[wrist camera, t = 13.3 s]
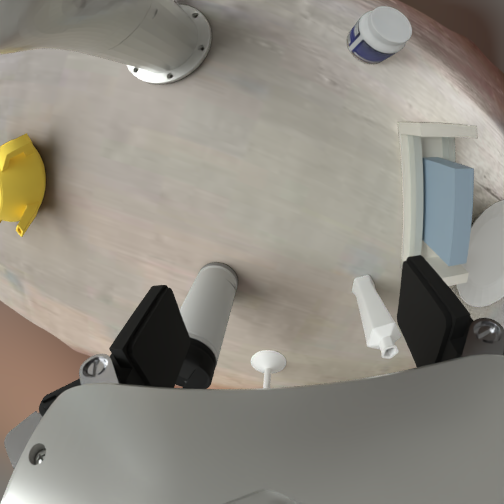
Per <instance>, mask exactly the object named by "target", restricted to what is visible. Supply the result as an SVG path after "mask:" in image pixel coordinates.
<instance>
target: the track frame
mask: <svg viewBox="0 0 504 504" xmlns="http://www.w3.org/2000/svg"><path fill="white" fill-rule="evenodd" d="M397 124H398V133H399V143H400V154H401V169H402V193H403V232H402V256H401V269H402V266H403V262H404V261H406V260H407V258H408V257H410V256H417V255H421V256H423V257H424V259H425V260H426V261H427V262H428V263H429V264H430V265H431V267H432V268H433V269H434V270H435V271H436V272H437V273H438V275H439V276H440V277H441V278H442V279H443V281H444V282H445V283H446V284H447V285H448V286H452V285H457V284H461V283H466V282H467V280H468V275H469V272H468V271H467V270H466V269H465V268H464V267H463V266H462V265H461V264H459V265H454V266H448V265H447V264H446V263H445V262H444V261H443V260H442V259H441V258H440V257H439V256H438V255H437V254H436V253H435V252H434V251H433V250H432V249H431V248H430V247H429V246H428V245H427V244H426V243H425V242H424V241H423V240H422V232H423V161H422V158H424V157H439V158H442V159H446V160H449V161H452V162H455V163H456V152H455V137H460V138H478V136H477V126H472V125H463V124H452V123H432V122H397Z"/></svg>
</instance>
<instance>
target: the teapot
mask: <svg viewBox="0 0 504 504" xmlns="http://www.w3.org/2000/svg"><path fill="white" fill-rule="evenodd" d="M45 187H46V173H45V167H44V163H43V161H42V158H41V156H40V154H39V153H38V151H37V150H36V148H35V147H34V146H33V144H32V141H31V140H30V138H29V136H28V135H27V133H26V134H24V135H22V136H20V137H18V138H16V139H14V140H11V141H9V142H7V143H5V144H3V145H2V146H0V223H1V221H2V220H4V221H9V222H17V221H20V222H19V224H18V225H17V228H16V231H17V232H18V234H19V235H20V236H21V237H22V236H23V235H24V233H25V232H26V230H27V229H28V227H29V226H30V224H31V223H32V221H33V220H34V218H35V217H36V215H37V212H38V210H39V207H40V205H41V203H42V200H43V196H44V192H45Z"/></svg>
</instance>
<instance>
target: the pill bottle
mask: <svg viewBox="0 0 504 504" xmlns="http://www.w3.org/2000/svg"><path fill="white" fill-rule="evenodd" d="M411 35H412V28H411V24H410V22H409V21H408V19H407V18H406V17H405V15H404V14H402V13H401V12H400V11H398V10H396V9H395V8H392V7H388V6H380V7H377V8H375V9H374V10H373V11H369V12H367V13H365V14H364V15H363V16H362V17H361V18H360V19H359V21H358V22H357V23H356V24H355V26H354V27H353V28H352V30H351V31H350V32H349V34H348V36H347V46H348V49H349V51H350V52H351V54H352V55H353V56H354V57H355V58H356V59H358V60H359V61H361V62H364V63H367V64H377V63H380V62H382V61H383V60H385V59H387V58H388V57H390V56H392V55H393V54H395V53H397V52H398V51H400V50H401V49H402V48H403V47H404V45H405V43H406V41H408V40H409V39H410V37H411Z"/></svg>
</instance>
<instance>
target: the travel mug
mask: <svg viewBox="0 0 504 504" xmlns="http://www.w3.org/2000/svg"><path fill="white" fill-rule="evenodd" d="M237 286H238V279H237V276H236V274H235V272H234V271H233V270H232V269H231V268H230V267H229V266H227V265H225V264H222V263H216V262H214V263H209V264H207V265H205V266H204V267H203V268H202V269H201V270H200V272H199V274H198V276H197V277H196V279H195V281H194V283H193V285H192V287H191V289H190V291H189V293H188V295H187V297H186V299H185V300H184V302H183V304H182V306H181V308H180V313H181V316H182V318H183V321H184V324H185V326H186V329H187V331H188V334H189V336H190V346H189V349H188V352H187V354H186V357H185V360H184V362H183V365H182V367H181V370H180V373H179V375H178V378H177V381H176V383H175V384H176V385H179V386H182V387H183V388H186V389H207V388H208V387H209V386H210V385H211V382H212V378H213V374H214V370H215V367H216V365H217V361H218V357H219V353H220V350H221V346H222V342H223V338H224V335H225V331H226V327H227V323H228V320H229V316H230V312H231V308H232V305H233V301H234V297H235V293H236V290H237Z"/></svg>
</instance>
